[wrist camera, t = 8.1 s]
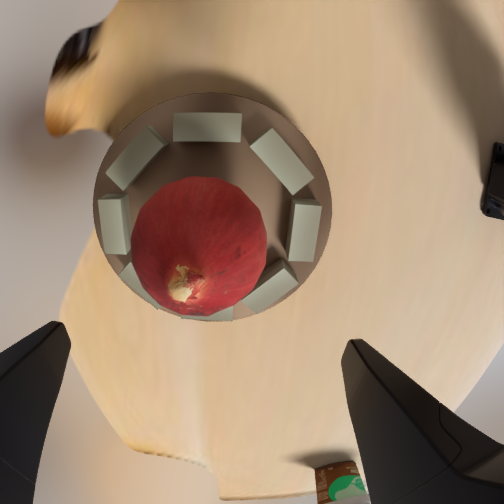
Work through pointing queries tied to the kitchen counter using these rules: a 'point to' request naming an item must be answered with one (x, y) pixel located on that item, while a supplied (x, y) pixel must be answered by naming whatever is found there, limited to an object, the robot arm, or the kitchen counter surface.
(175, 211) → the pomegranate
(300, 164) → the display stand
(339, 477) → the food container
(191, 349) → the kitchen counter surface
